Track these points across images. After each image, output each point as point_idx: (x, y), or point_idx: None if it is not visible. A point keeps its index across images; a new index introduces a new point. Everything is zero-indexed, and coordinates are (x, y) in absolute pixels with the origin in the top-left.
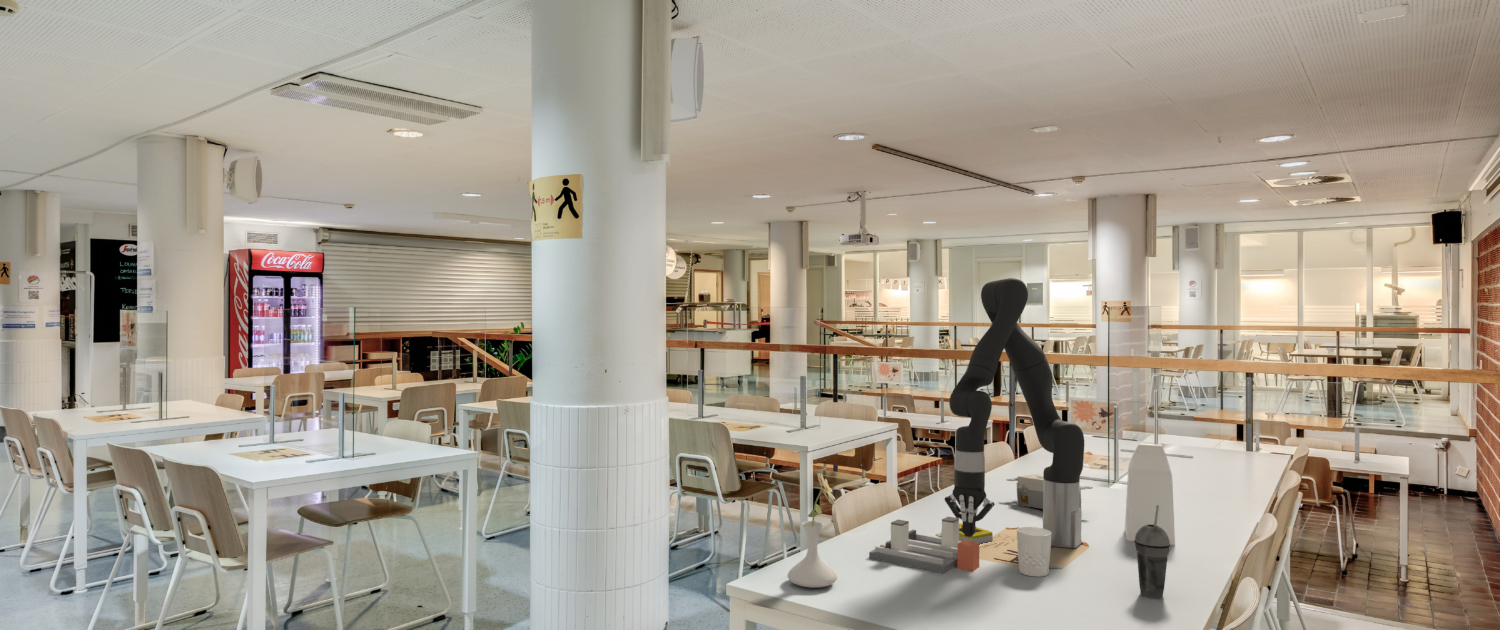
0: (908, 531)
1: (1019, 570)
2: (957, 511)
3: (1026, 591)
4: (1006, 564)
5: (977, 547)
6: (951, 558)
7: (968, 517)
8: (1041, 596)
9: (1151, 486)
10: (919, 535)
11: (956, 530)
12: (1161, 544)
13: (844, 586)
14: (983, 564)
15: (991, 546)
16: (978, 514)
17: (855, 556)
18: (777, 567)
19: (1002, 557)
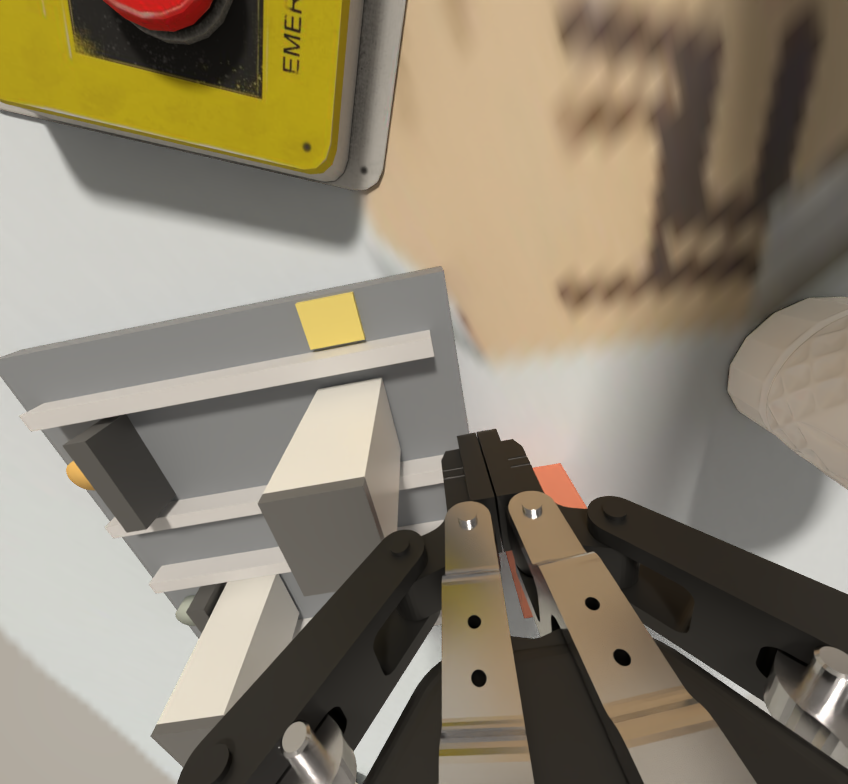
0: (245, 659)
1: (735, 403)
2: (415, 644)
3: (783, 551)
4: (650, 345)
5: None
6: None
7: (525, 592)
8: (834, 555)
9: None
10: (121, 413)
11: (384, 469)
12: None
13: (373, 760)
14: (559, 421)
15: (434, 39)
16: (646, 619)
17: (180, 644)
18: (172, 776)
19: (594, 246)
